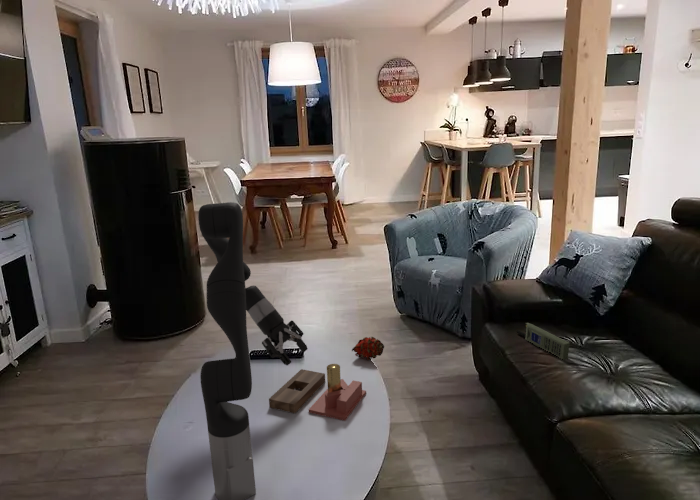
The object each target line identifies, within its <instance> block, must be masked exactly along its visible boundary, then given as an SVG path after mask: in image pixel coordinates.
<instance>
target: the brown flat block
mask: <svg viewBox="0 0 700 500" xmlns="http://www.w3.org/2000/svg"><path fill="white" fill-rule="evenodd" d="M325 383H326V373H323V372H317V371H313V370H307V369H303V368H301V369H299V370H298V372H296V373H295V374H294V375H293V376H292V377H291V378H290V379H288V380H287V382H285V383H284V384H283V385H282V386H281V387H280V388H279V389H278V390H277V391H276V392H274V393H273V394H272V395H271V396H270V397H268V405H269V408H270V409H274V410H279V411H282V412H287V413H291V414H297V412H298V411H300V409H301V408H302V407H303V406H304V405H305V404H306V403H307V402H308V401H309V400H310V399H311V398H312V397H313V396H314V394H315V393H317V391H318V390H319V389H320V388H321V387H322V386H323V385H324V384H325Z"/></svg>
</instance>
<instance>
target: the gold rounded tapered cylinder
mask: <svg viewBox="0 0 700 500" xmlns="http://www.w3.org/2000/svg"><path fill="white" fill-rule="evenodd" d="M326 378H327V389H328V393H330V392H334V391H339V390H341V379H342V378H341V366H340V364H338V363H331V364H327V366H326Z"/></svg>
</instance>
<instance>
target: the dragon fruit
mask: <svg viewBox="0 0 700 500" xmlns="http://www.w3.org/2000/svg"><path fill="white" fill-rule="evenodd" d="M384 349H385V344H384V343H383V342H382V341H381V340H380V339H378V338H377V339H376V338H375V337H374V336H369V337H367V336H366V337H363V338H362V339H359V340H358V341H357V343H356V344H355V346H353V347H352V349H351V352H355V356H356V357H358V358H366V360H367V361H370V360H371V359H376V358H377V357H378V356H382V355H383V352H384Z"/></svg>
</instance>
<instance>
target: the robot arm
mask: <svg viewBox="0 0 700 500" xmlns="http://www.w3.org/2000/svg"><path fill="white" fill-rule="evenodd" d="M197 216H198V218H197V219H198V220H197V221H198V227H199V230H200V232H201V235H202V237H203V239H204V240H205V243H207V245H208V247H209V248H210V249H211V251H212V252H213V254H214V256H215V258H216V261H217V263H216V265H215V266H214V267H213V269H212V270H211V272H210V274H209V276H208V277H207V280H206V308H207V311H208V312H209V314H210V316H211V317H212V318H213V320H214V321H215V323H216V324H217V325H218V326H219V327H220V329H221V330H222V331H223V332H224V334H225V335H226V337H227V339H228V340H229V342H230V344H231V346H232V349H233V350H234V353H235V357H233V358H225V359H224V358H223V359H217V360H216V359H215V360H208V361H206V362H204V363H203V364H202V367H201V369H200V377H199V378H200V387H201V393H202V398H203V404H204V409H205V416H206V417H205V418H206V423H207V432H208V433H207V434H208V443H209V451H210V452H209V453H210V458H211V459H210V460H211V467H212V468H211V469H212V476H213V485H214V493H215V494H214V495H215V497H216V499H217V500H246V499H249V498H250V497H252V496H253V495H256V494H257V491H256V490H257V488H256V480H255V469H254V459H253V452H252V451H253V449H252V440H251V429H250V417H249V413H248V410H247V409H246V408H245V407H244V406H242V405H239V404H237V403H233V402H234V401H241V400H246V399H249V398H250V396H251V394H252V388H253V381H252V380H253V379H252V378H253V377H252V367H251V359H250V351H249V350H250V349H249V342H248V341H249V340H248V330H247V327H248V326H247V313H248V315H249V316H250V318H251V320H252V321H253V322H254V323H255V324H256V326H257V327H258V329H259V330H260V331H261V332H262V334H263V335H265V336H266V338H264V340H262V341H261V345H262V346H263V347H264V349H265V351H267V353H268V354H269V356H270V357H271V358H272V359H274V358H279V360H280V361H281V362H282V364H284V365H285V366H289V365H290V364H292V360H291V359H290V357H289V356H288V355H287V353H286V352H285V351H284V343H286V342H287V341H288V342H290V341H291V342H294V343H295V345H296V346H297V347H298V349H299V350H300V351H301V352H302V353H305V352H306V351H308V349H309V348H308V346H307V344H306V343H305V341H304V340H303V339H302V337H303V335H304V334H305V333H304V332H303V330H302V329H301V328H300V327H299V326H298V325H297V324H296V323H295V321H294V320H290V321H289V322H288V323H285V322H284V321H285V319H284V318H283V317H282V315H281V314H280V312H278V310H277V309H276V308H275V306H274V305H273V304H272V303H271V302H270V301H269V299H267V298H266V296H265V295H264V294H263V292H262V291H261V290H260V289H259V288H258V287H257V285H250V286H248V287H246V282H247V281H248V279H250V277H251V274H252V272H251V269H250V267H249V265H248V264H247V263H245V261H244V253H243V251H244V217H243V211H242V208H241V205H240V204H239V203H237V202H234V201H233V202H231V201H230V202H220V203H219V202H218V203H207V204H203V205H201V206H200V207H199V209H198V215H197Z"/></svg>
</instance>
